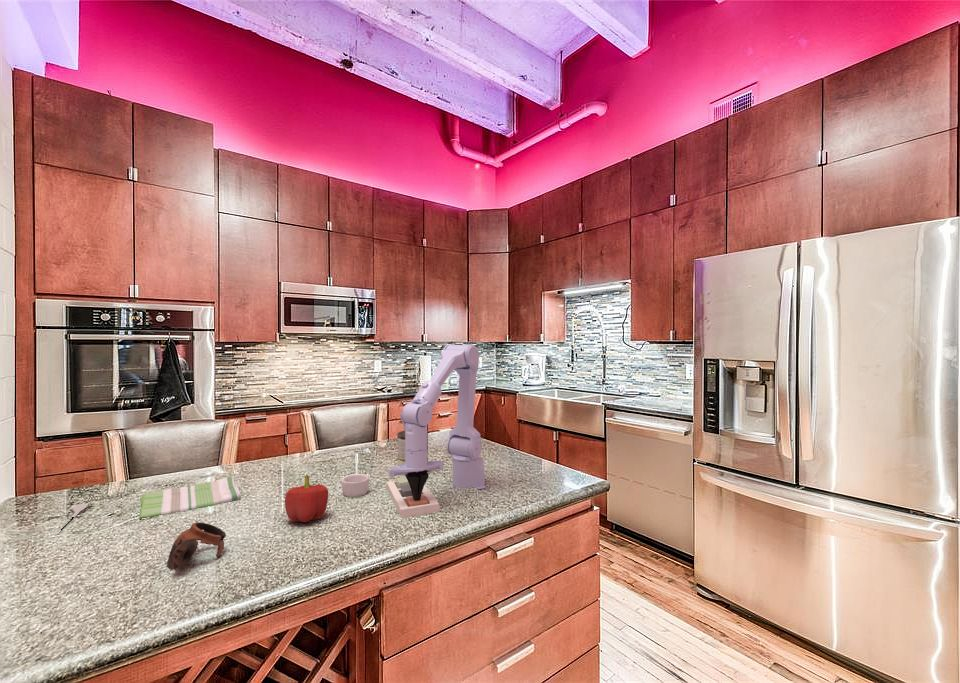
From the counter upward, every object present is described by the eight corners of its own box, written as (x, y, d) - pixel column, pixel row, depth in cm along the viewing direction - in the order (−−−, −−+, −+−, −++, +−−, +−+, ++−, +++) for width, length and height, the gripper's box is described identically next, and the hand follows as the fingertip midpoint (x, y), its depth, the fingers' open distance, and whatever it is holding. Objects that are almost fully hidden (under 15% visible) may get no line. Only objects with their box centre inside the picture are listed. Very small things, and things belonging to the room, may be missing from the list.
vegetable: (285, 513, 113) (285, 476, 113) (327, 507, 117) (326, 471, 117) (284, 531, 103) (284, 489, 103) (329, 523, 107) (329, 483, 107)
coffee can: (411, 467, 152) (411, 428, 151) (434, 472, 146) (434, 431, 146) (390, 476, 143) (390, 433, 143) (414, 481, 137) (414, 437, 137)
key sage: (412, 484, 130) (411, 476, 130) (415, 489, 125) (415, 481, 125) (396, 486, 128) (396, 478, 128) (399, 491, 123) (399, 483, 123)
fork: (42, 547, 101) (41, 536, 101) (85, 505, 120) (84, 496, 120) (58, 545, 102) (57, 534, 102) (97, 504, 121) (97, 494, 121)
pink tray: (419, 487, 132) (419, 477, 132) (439, 515, 112) (439, 503, 112) (386, 491, 128) (386, 481, 128) (400, 521, 108) (400, 509, 108)
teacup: (370, 499, 123) (370, 480, 123) (342, 503, 120) (342, 484, 120) (366, 487, 132) (365, 470, 132) (339, 491, 129) (339, 473, 129)
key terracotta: (423, 503, 117) (423, 494, 117) (427, 510, 112) (427, 501, 112) (405, 506, 115) (405, 497, 115) (409, 513, 110) (409, 503, 110)
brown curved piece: (174, 554, 93) (197, 516, 96) (215, 571, 94) (237, 533, 97) (145, 569, 82) (172, 525, 85) (193, 587, 83) (218, 544, 85)
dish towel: (241, 501, 123) (241, 489, 123) (139, 523, 109) (138, 509, 109) (233, 484, 137) (233, 473, 137) (142, 502, 123) (141, 489, 123)
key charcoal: (417, 492, 123) (417, 483, 123) (421, 498, 119) (421, 489, 119) (400, 494, 121) (400, 485, 121) (404, 500, 117) (404, 491, 117)
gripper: (436, 442, 120) (436, 490, 120) (385, 448, 113) (385, 499, 114) (446, 447, 114) (446, 498, 114) (392, 455, 107) (392, 508, 107)
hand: (416, 499), depth 113 cm, fingers closed, pressing on key terracotta
